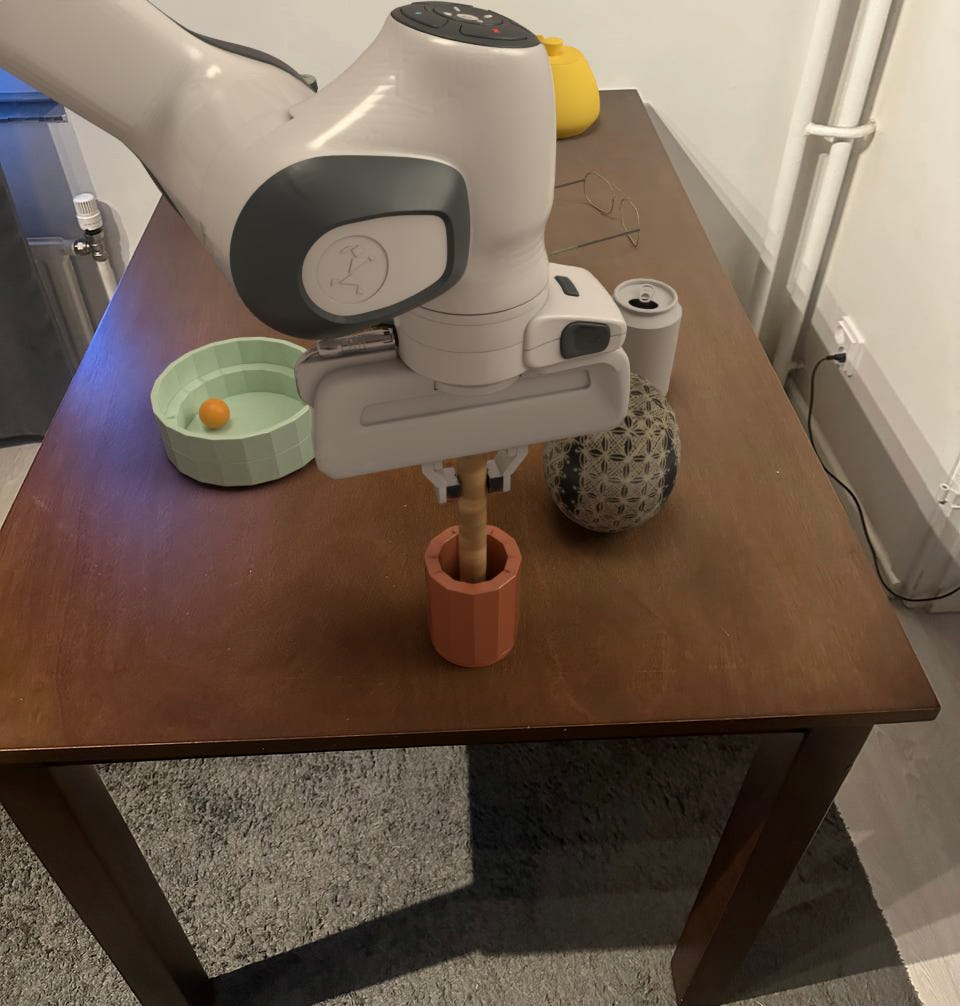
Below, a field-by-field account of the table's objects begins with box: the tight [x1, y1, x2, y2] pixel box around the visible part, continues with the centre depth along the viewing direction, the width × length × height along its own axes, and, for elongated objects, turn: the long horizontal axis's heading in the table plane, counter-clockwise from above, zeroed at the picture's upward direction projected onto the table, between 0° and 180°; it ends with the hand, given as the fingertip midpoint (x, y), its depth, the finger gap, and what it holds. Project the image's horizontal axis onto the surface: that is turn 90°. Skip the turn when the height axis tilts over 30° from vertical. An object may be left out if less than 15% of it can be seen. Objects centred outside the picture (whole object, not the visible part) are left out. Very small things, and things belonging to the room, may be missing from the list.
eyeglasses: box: [547, 171, 641, 258], centre depth 118 cm, size 16×15×5 cm
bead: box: [199, 398, 230, 429], centre depth 88 cm, size 3×3×3 cm
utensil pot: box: [423, 524, 523, 668], centre depth 69 cm, size 7×7×9 cm
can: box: [610, 277, 683, 397], centre depth 90 cm, size 8×8×12 cm
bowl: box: [149, 336, 315, 487], centre depth 87 cm, size 16×16×6 cm
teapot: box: [535, 34, 601, 140], centre depth 144 cm, size 20×19×13 cm
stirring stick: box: [456, 452, 488, 584], centre depth 64 cm, size 2×2×20 cm
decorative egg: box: [542, 372, 682, 534], centre depth 76 cm, size 12×12×15 cm
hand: (471, 491), depth 61 cm, fingers closed
